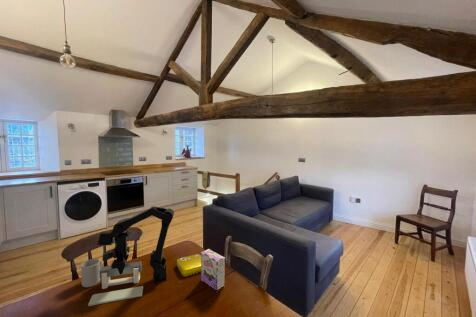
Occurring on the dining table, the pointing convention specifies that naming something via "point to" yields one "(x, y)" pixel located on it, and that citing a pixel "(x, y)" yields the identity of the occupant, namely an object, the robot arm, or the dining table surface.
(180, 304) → the dining table surface
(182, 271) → the element tile
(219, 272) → the candy box
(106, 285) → the rack
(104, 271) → the rail
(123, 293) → the mat
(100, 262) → the mug
